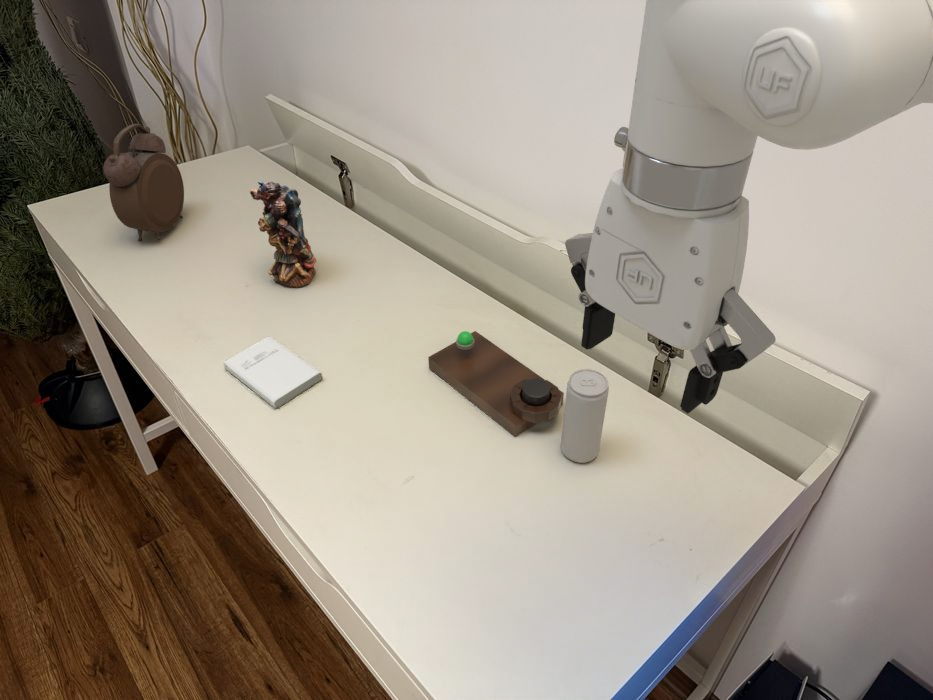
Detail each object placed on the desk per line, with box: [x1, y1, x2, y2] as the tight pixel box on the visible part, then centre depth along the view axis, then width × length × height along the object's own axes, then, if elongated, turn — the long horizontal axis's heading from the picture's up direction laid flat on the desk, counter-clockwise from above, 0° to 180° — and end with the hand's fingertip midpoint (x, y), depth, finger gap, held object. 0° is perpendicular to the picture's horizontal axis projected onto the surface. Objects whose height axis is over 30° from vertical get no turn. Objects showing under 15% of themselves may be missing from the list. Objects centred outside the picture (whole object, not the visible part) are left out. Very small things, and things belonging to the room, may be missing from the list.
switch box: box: [427, 330, 565, 438], centre depth 96 cm, size 20×9×4 cm, turn 41°
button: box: [522, 378, 550, 407], centre depth 90 cm, size 4×4×2 cm
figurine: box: [249, 180, 317, 288], centre depth 113 cm, size 11×9×18 cm
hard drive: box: [223, 336, 323, 409], centre depth 100 cm, size 2×8×12 cm
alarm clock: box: [102, 123, 185, 242], centre depth 126 cm, size 14×7×20 cm, turn 169°
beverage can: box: [560, 368, 610, 464], centre depth 85 cm, size 5×5×12 cm
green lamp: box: [455, 330, 475, 350], centre depth 98 cm, size 3×3×2 cm
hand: (643, 370), depth 55 cm, fingers open, 9 cm apart
